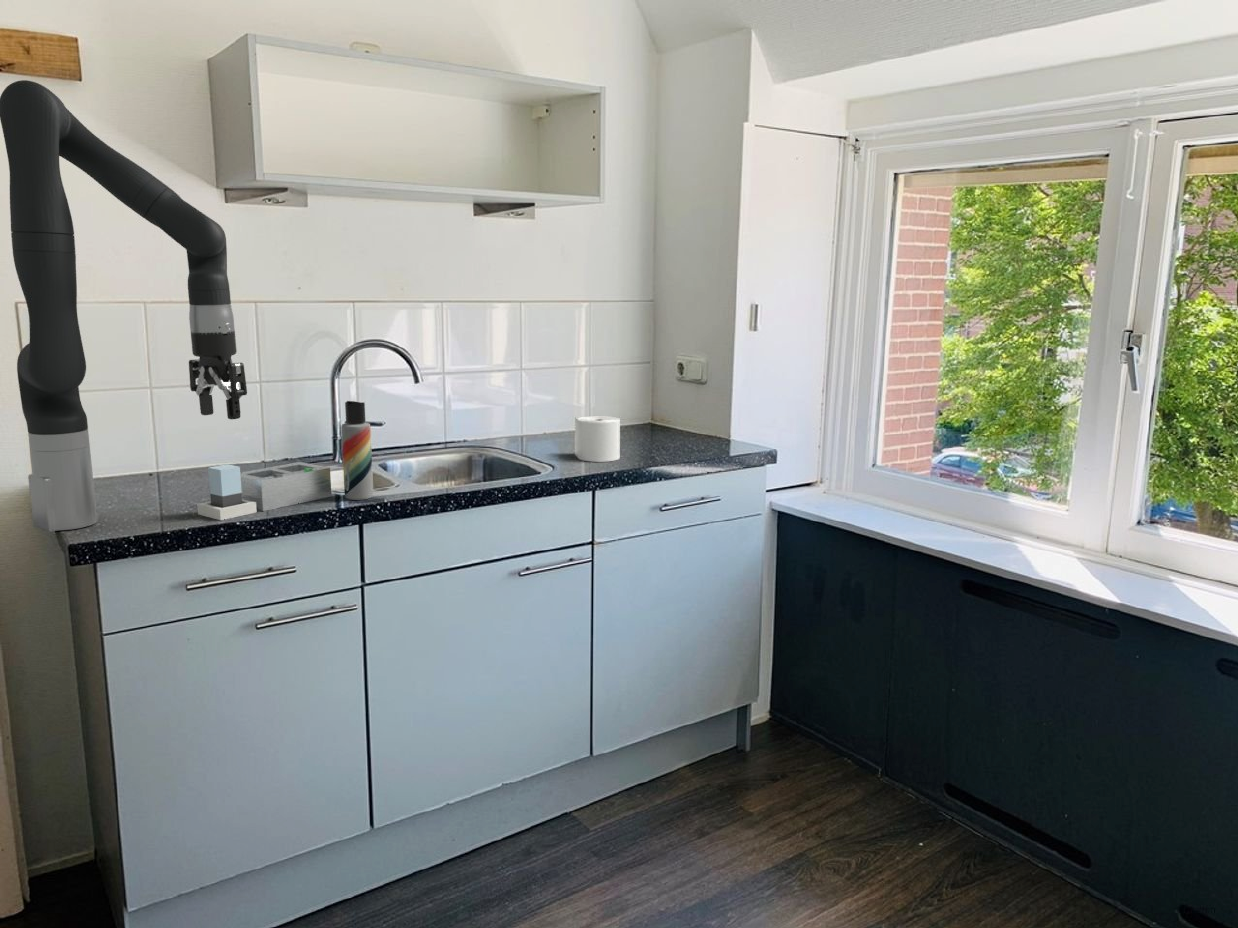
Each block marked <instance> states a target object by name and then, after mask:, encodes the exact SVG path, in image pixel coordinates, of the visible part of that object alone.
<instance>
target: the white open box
mask: <svg viewBox="0 0 1238 928" xmlns="http://www.w3.org/2000/svg"><path fill="white" fill-rule="evenodd" d="M196 506H197V515H200V516H204V517H207V518H211V519H214V520H219V521H225V520H228V519H234V518H236V517H241V516H247V515H251V514H256V513H257V512H258V510H256V502H253V501H248V500H244V499H242V504H239V505H234V506H229V507H224V508H220V507H216V506H212V505H211V500H210V501H206V502H200V503H197V505H196ZM224 519H225V520H224Z"/></svg>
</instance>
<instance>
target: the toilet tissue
mask: <svg viewBox="0 0 1238 928" xmlns="http://www.w3.org/2000/svg"><path fill="white" fill-rule="evenodd" d="M576 417H577V416H576V415H575V416H574V454H575V457H577V459H578V460H580V461H585V462H596V463H598V462H599V463H600V462H601V463H602V462H603V463H604V462H605V463H606V462H614V461H618V460H620V458H621V457H620V454H621V451H620V450H621V449H620V448H621V443H620V442H621V419H620V418H618V417H614V416H610V415H607V416H606V415H605V416H604V415H602V416H601V415H599V416H598V415H596V416H595V415H592V416H590V415H589V416H583V417H582V416H581V417H578V418H576Z"/></svg>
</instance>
